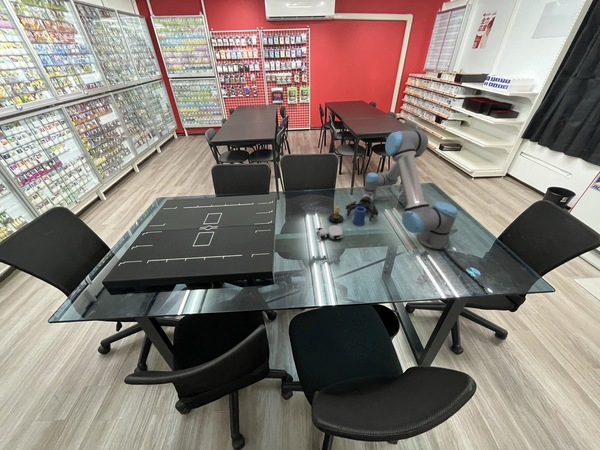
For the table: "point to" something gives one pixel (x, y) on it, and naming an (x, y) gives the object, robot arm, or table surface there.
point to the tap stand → (336, 217)
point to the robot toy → (330, 232)
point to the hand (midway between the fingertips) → (358, 216)
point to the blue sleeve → (359, 216)
